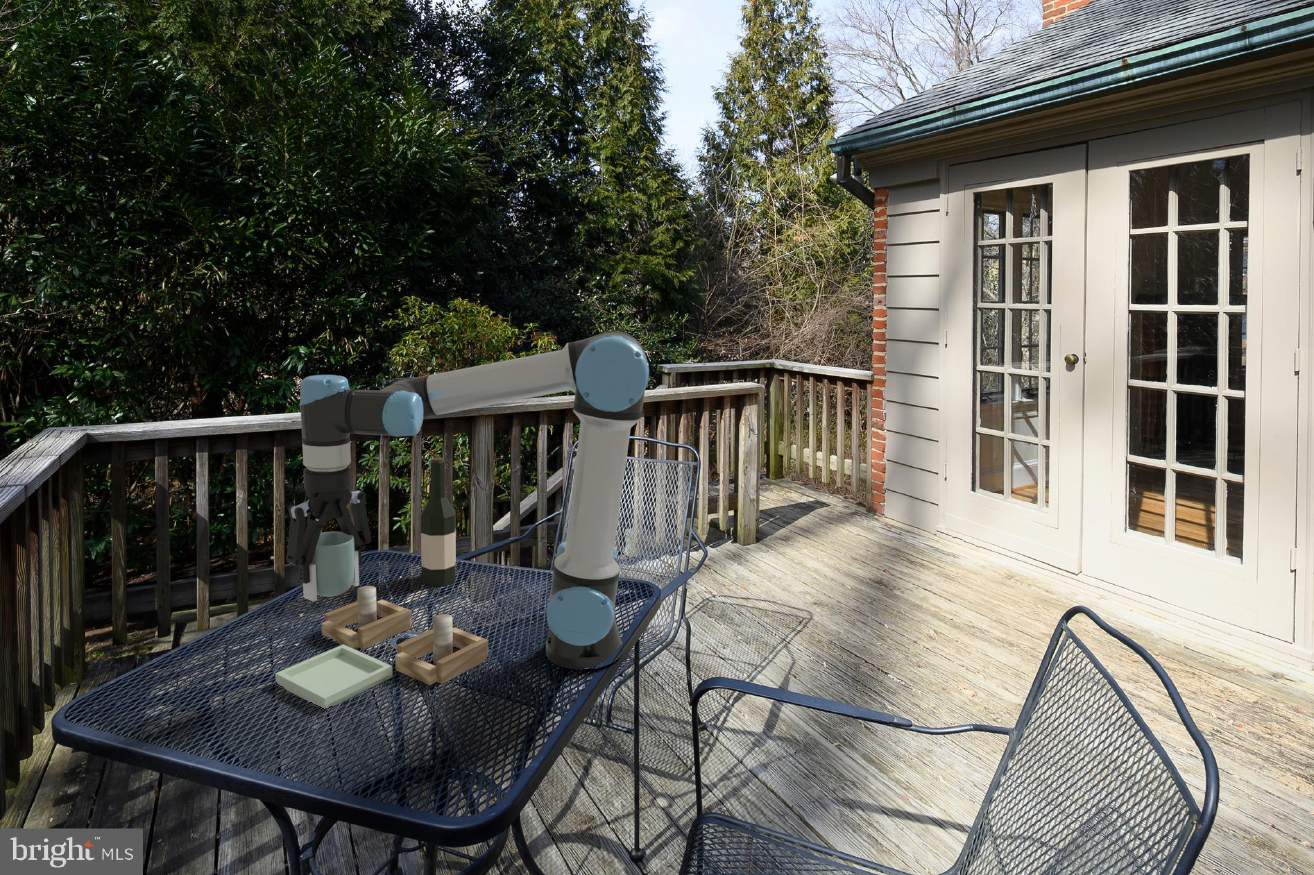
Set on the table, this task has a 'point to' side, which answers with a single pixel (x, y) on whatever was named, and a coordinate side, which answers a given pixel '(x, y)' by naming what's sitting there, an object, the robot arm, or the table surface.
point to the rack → (425, 643)
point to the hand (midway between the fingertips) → (332, 591)
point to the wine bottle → (438, 532)
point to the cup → (334, 563)
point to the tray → (334, 676)
